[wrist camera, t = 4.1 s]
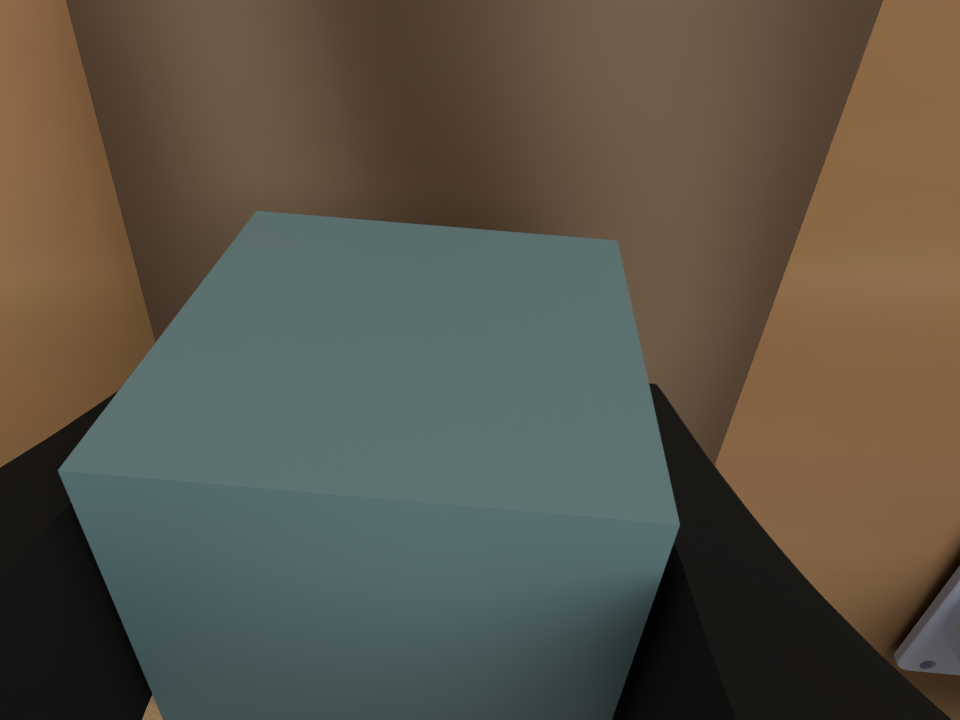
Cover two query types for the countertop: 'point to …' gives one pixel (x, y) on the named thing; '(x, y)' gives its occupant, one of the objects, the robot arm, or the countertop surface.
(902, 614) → the countertop surface
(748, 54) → the walnut block
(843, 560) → the countertop surface
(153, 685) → the teal cube
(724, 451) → the countertop surface
